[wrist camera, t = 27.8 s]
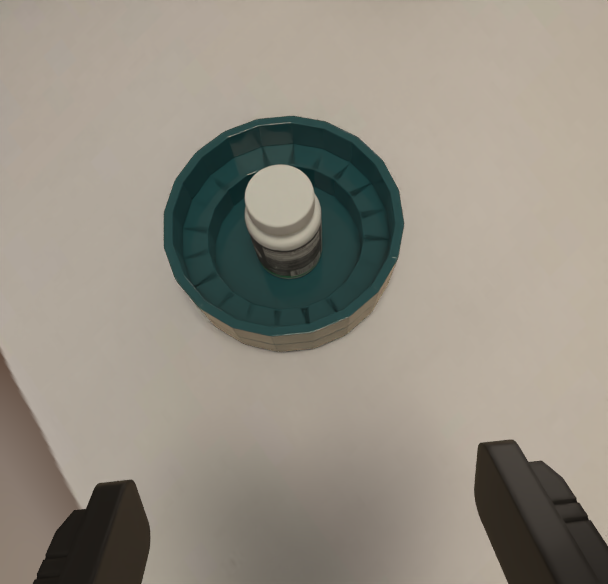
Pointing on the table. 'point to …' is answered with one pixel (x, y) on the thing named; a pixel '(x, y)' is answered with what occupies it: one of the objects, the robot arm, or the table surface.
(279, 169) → the pill bottle
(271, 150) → the bowl
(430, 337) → the table surface
